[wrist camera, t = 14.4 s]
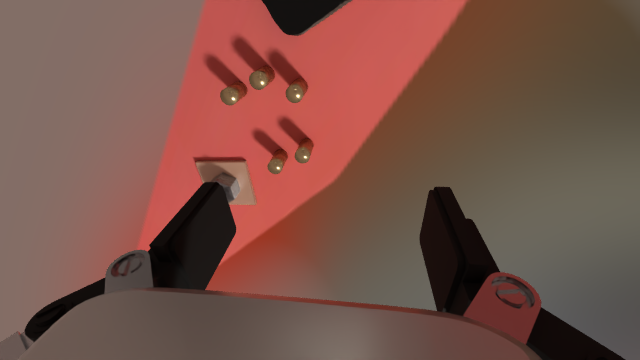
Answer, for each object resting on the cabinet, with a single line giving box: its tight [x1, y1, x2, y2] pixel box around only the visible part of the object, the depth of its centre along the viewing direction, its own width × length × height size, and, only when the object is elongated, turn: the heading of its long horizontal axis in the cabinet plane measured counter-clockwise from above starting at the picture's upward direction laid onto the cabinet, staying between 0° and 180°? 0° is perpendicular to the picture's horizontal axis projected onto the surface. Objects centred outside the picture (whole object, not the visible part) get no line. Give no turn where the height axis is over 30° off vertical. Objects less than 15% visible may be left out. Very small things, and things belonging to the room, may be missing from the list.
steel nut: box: [211, 172, 241, 203], centre depth 51 cm, size 6×5×3 cm
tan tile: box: [195, 160, 257, 205], centre depth 52 cm, size 10×10×1 cm
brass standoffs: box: [220, 66, 314, 174], centre depth 42 cm, size 16×12×4 cm
